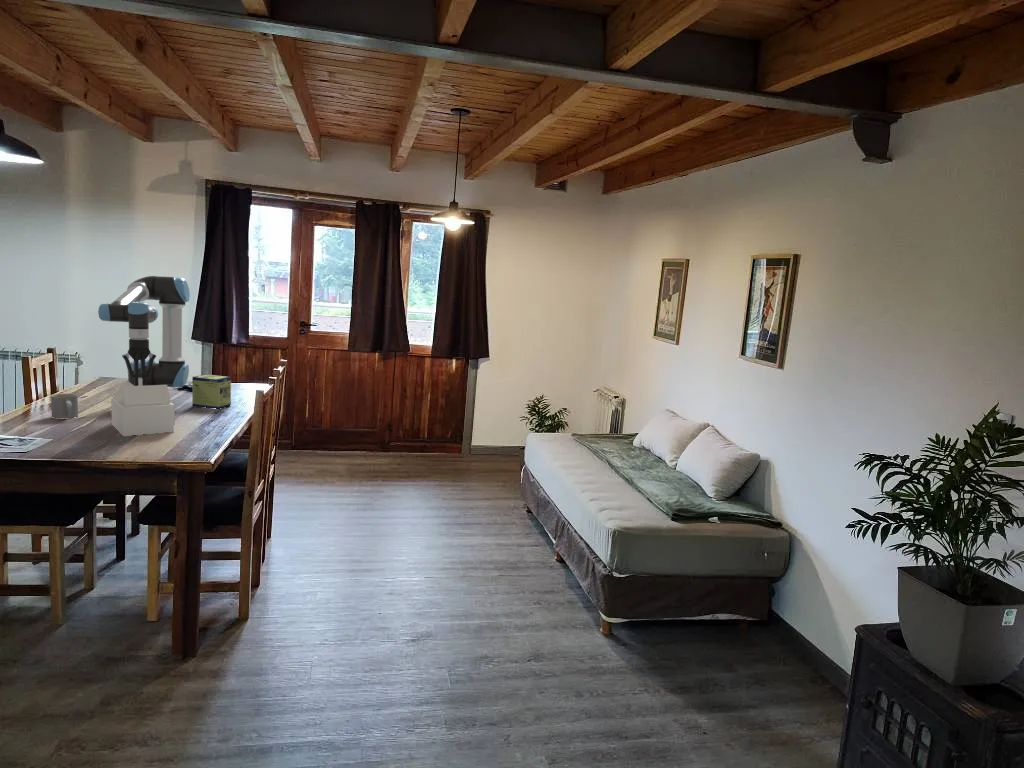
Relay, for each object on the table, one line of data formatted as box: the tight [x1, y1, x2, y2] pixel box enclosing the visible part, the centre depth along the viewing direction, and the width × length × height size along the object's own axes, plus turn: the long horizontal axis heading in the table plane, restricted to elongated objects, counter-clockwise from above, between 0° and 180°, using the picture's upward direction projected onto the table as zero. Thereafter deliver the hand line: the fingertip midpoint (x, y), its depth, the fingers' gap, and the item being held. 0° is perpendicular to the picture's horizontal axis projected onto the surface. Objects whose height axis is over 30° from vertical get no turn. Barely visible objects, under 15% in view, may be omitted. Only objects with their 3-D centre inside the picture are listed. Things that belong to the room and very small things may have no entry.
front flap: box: [121, 385, 172, 406], centre depth 287 cm, size 1×17×9 cm
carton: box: [110, 397, 176, 437], centre depth 295 cm, size 24×20×12 cm
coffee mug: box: [50, 393, 79, 419], centre depth 305 cm, size 13×10×10 cm
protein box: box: [191, 374, 232, 410], centre depth 349 cm, size 10×16×16 cm
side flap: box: [111, 380, 134, 403], centre depth 291 cm, size 13×1×9 cm
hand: (139, 392), depth 295 cm, fingers closed
